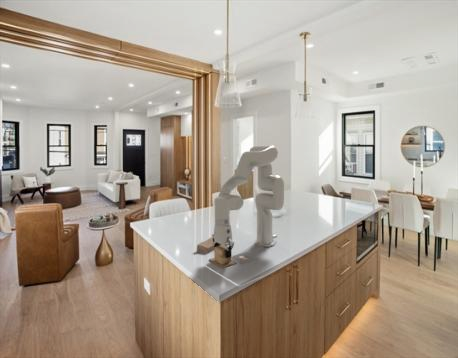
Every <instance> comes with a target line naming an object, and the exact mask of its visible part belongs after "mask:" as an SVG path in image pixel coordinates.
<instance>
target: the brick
mask: <svg viewBox="0 0 458 358" xmlns="http://www.w3.org/2000/svg"><path fill="white" fill-rule="evenodd" d="M218 244H219V243H218ZM214 245H215V244H213V238H212V236H211V237H209V238H208V239H207V240H204V241H201V242H200V243H198V244H197V245H196V252H197V253H199V254H200V253H201V254H203V253H205V254H209V253H211V252H213V251H214ZM220 245H221V244H220Z"/></svg>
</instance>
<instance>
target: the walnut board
mask: <svg viewBox="0 0 458 358" xmlns="http://www.w3.org/2000/svg"><path fill="white" fill-rule="evenodd" d="M208 261H209V262H211V263H213V264H214V265H216V266H217V267H220V268H221V269H227V268H228V267H231V266H234V265H236V264H238V262H237V261H235V260H233V259H231V261H230V262H227V263H224V264H220V263H218V262H216V261H215V257H213V258H209V259H208Z"/></svg>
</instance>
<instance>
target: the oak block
mask: <svg viewBox="0 0 458 358" xmlns="http://www.w3.org/2000/svg"><path fill="white" fill-rule="evenodd" d="M213 251H214V252H213V253H214V255H213V256H214V258H215V261H216V262H218V263H220V264H224V263H227V262H230V261H231V257H229V258H226V247H225V246H224V245H220V246H217V247H214V250H213Z"/></svg>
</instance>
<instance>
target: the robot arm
mask: <svg viewBox="0 0 458 358" xmlns="http://www.w3.org/2000/svg"><path fill="white" fill-rule="evenodd" d="M278 153H279V152H278V150H277V147H276V146H274V145H256V146H253V147H251V148H250V149H249V150H248V151H244V152H243V153H242V154H241V156H240V158H239V161H238V164H237V165H236V166H237V167H236V169H235V171H234V173H233V175H232V176H231V177H230V178H228V179H227V181H225V183H224V184H223V185H222V187H221V188H220V191H219V193H218V196H216V197H215V198H214V200H213V201H214V228H213V233H212V234H211V237H212V238H213V244H215V245H214V247H217V246H220V244H221V245H224V246H225V247H226V258H229V257H231V256H232V250H233V248H234V245H235V242H234V241H233V232H232V226H231V223H230V222H231V221H230V217H231V216H230V215H231V213H230V211H238V210H241V208H243V205H244V202H245V201H244V200H243V198H242V197H241V196H239V195H236V194H231V193H232V191H233V190H234V189H236V188H237V187H239V186H241V185H244V184H246V183H248V182H249V180H250V179H251V178H250V177H251V175H252V172H253V170H254V168H257V187H258V189H259V190H260V191H265V192H260V193H257V194H256V196H255V198H254V203H255V208H256V239H255V240H254V241H253V244H255V245H256V246H259V247H265V248H269V247H273V246H275V244H276V242H275V240H274V239H276V238H278V235H277V234H273V212H272V211H281V210H282V209H283V207H284V204H285V181H284V178H283V177H282V176H280V175H273V167H272V166H273V165H272V163H273V162H275V160H276V159H277V158H278V155H279V154H278ZM270 192H272V193H270ZM218 243H219V244H218Z"/></svg>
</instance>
